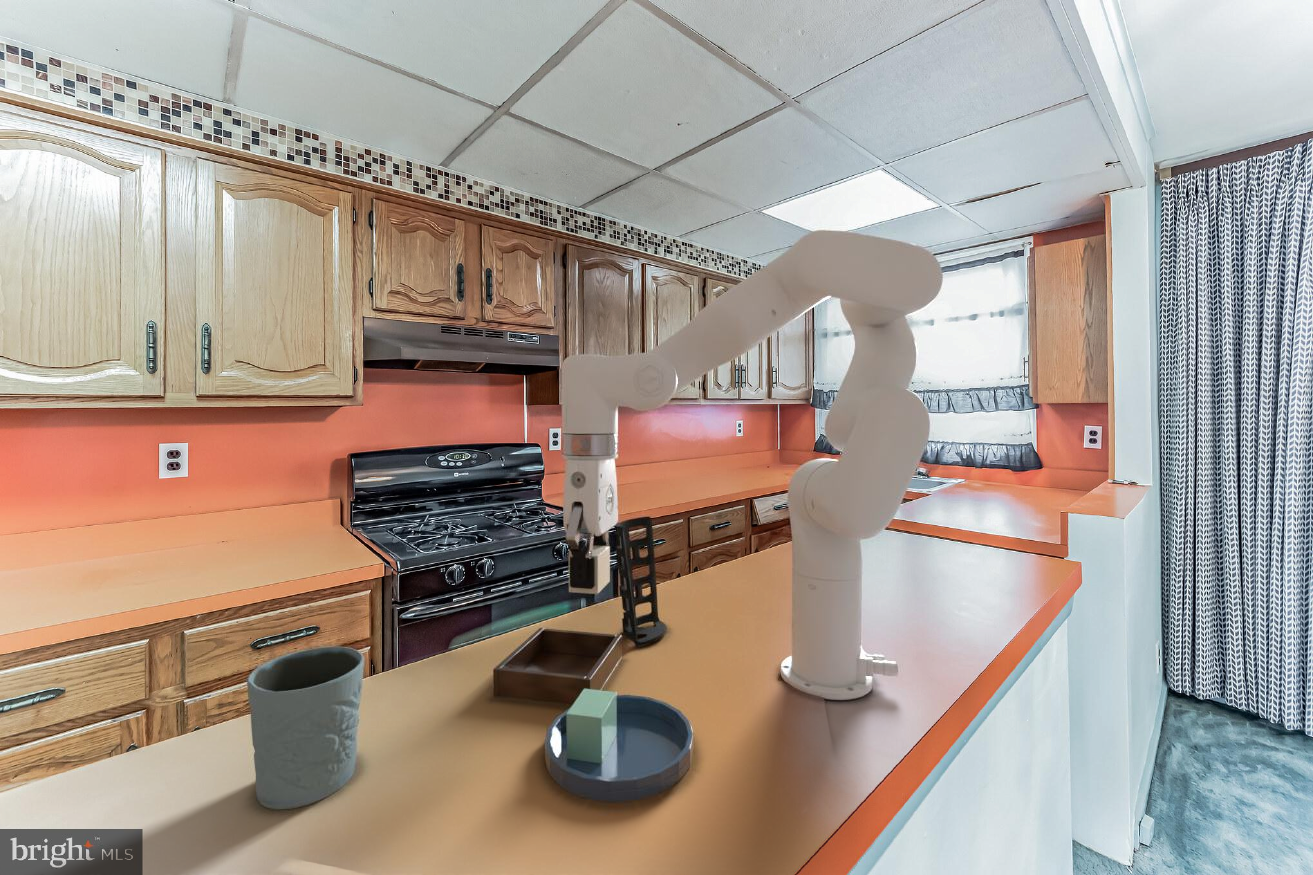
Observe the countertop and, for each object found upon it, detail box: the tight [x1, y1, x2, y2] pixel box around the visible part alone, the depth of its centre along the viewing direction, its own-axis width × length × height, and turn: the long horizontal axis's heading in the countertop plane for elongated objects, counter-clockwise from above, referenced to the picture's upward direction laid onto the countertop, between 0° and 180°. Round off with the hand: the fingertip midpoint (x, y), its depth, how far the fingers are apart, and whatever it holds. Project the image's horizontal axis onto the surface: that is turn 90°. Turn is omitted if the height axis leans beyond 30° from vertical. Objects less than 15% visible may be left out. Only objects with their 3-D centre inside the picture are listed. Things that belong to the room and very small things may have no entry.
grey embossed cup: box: [246, 645, 365, 811], centre depth 55 cm, size 10×10×12 cm
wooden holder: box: [492, 627, 623, 706], centre depth 77 cm, size 14×15×4 cm
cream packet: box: [568, 545, 611, 595], centre depth 73 cm, size 4×6×5 cm
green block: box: [566, 689, 618, 764], centre depth 60 cm, size 4×6×5 cm
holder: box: [614, 516, 668, 648], centre depth 93 cm, size 11×8×20 cm
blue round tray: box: [544, 694, 695, 803], centre depth 60 cm, size 16×16×2 cm
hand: (590, 579), depth 73 cm, fingers closed on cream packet, 5 cm apart
